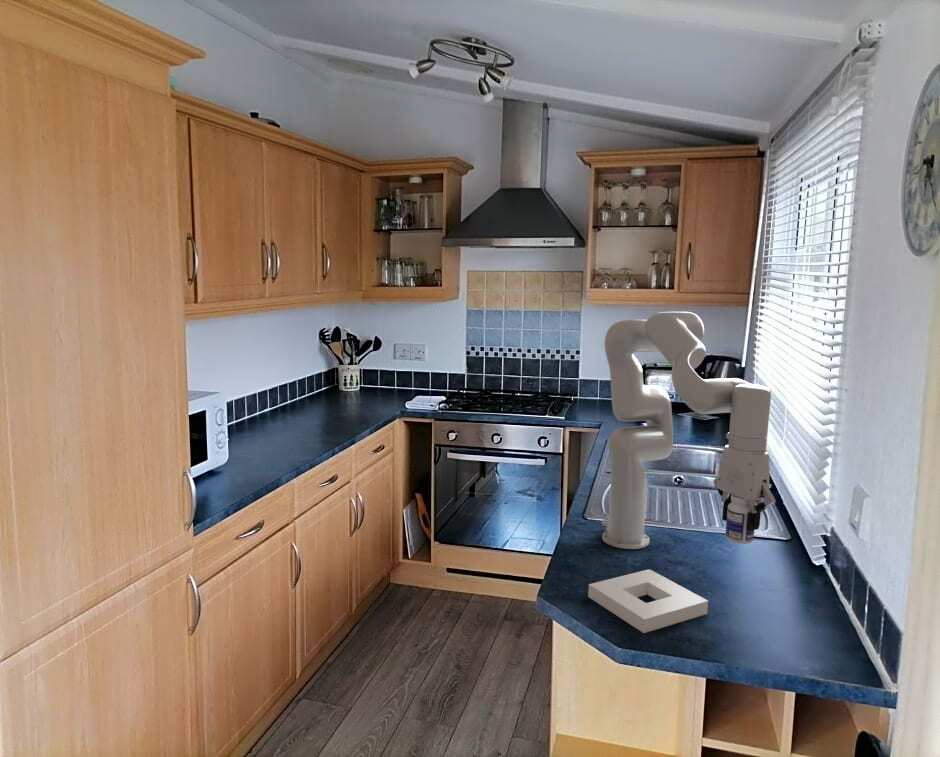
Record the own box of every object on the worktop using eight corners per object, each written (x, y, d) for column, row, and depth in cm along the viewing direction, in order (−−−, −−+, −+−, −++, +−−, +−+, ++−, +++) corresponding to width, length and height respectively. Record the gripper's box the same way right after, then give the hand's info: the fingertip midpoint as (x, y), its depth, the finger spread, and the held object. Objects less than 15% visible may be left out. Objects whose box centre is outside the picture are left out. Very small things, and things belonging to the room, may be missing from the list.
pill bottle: (746, 534, 156) (750, 491, 154) (757, 544, 150) (762, 499, 149) (720, 534, 156) (724, 490, 154) (731, 544, 150) (735, 499, 148)
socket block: (588, 596, 159) (588, 584, 159) (648, 581, 168) (649, 569, 167) (643, 633, 144) (644, 619, 143) (707, 613, 152) (708, 600, 152)
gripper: (703, 435, 155) (697, 514, 158) (770, 454, 140) (762, 541, 143) (727, 432, 159) (720, 509, 162) (794, 450, 144) (786, 535, 147)
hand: (740, 523), depth 152 cm, fingers closed on pill bottle, 5 cm apart
